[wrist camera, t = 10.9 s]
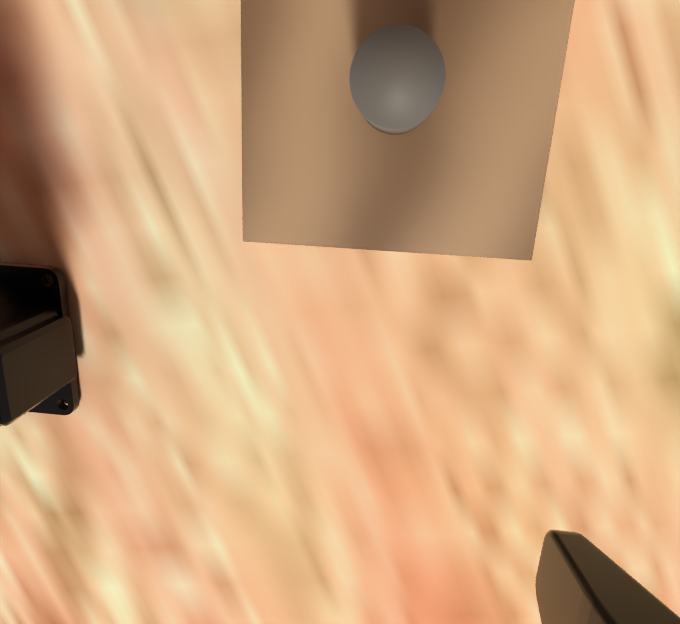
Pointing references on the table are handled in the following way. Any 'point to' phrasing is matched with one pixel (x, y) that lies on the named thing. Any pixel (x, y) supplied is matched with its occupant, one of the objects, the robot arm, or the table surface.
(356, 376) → the table surface
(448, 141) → the stake board
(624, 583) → the robot arm
